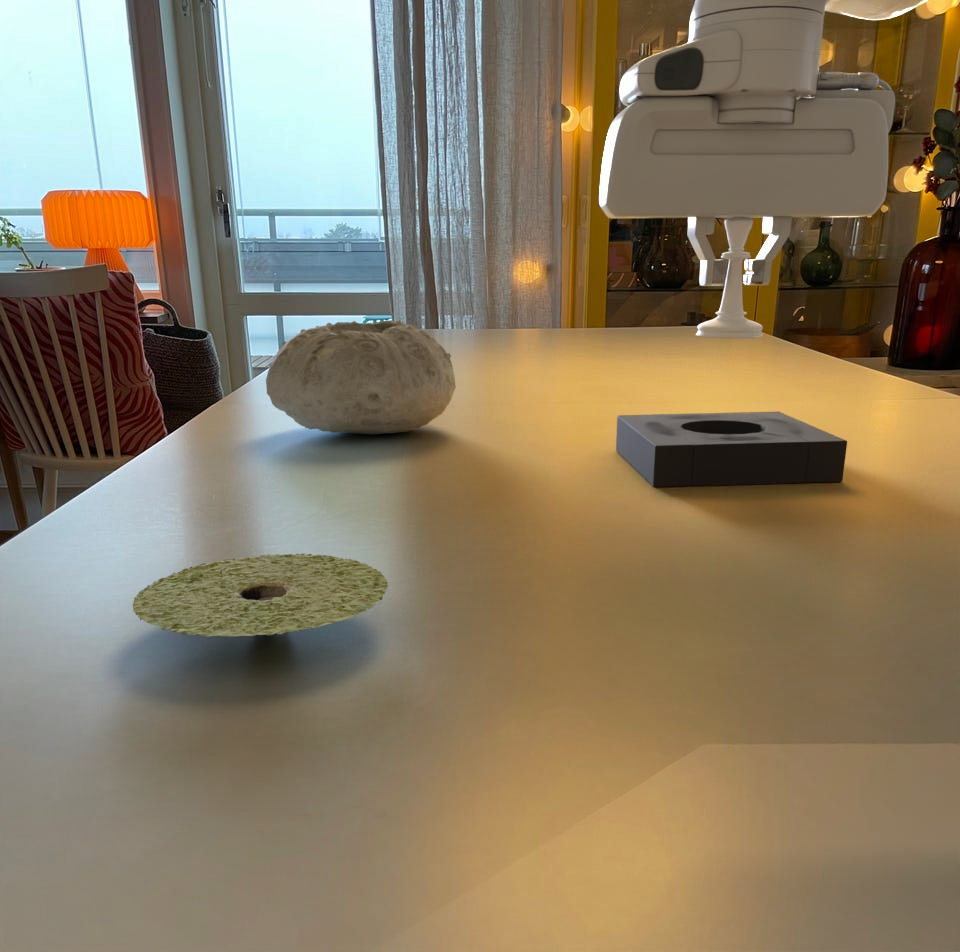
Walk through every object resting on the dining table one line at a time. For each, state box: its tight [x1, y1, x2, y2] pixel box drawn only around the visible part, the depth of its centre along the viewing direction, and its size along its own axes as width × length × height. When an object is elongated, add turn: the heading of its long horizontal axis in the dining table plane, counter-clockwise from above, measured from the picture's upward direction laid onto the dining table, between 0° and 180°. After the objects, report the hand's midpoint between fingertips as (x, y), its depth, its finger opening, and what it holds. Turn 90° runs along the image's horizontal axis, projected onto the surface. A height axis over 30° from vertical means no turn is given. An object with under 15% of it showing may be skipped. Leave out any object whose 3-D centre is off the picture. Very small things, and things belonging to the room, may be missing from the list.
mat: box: [132, 553, 389, 638], centre depth 44 cm, size 11×11×2 cm
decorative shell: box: [265, 320, 456, 435], centre depth 92 cm, size 18×18×10 cm
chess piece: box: [695, 217, 764, 339], centre depth 71 cm, size 5×5×10 cm
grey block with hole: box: [615, 411, 848, 488], centre depth 76 cm, size 14×14×3 cm
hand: (733, 285), depth 72 cm, fingers closed on chess piece
